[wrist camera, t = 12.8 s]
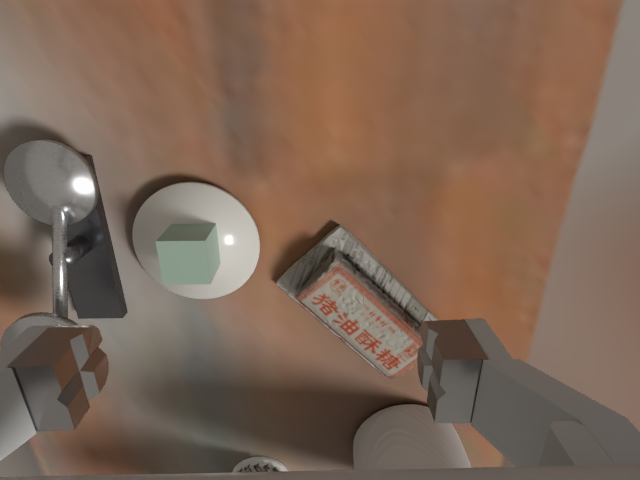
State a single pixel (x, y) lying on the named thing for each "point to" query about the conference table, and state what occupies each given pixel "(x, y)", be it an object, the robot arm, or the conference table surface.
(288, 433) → the conference table surface
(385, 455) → the vase
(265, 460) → the decorative candle
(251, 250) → the dish
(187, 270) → the block
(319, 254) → the packaged product
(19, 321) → the balance
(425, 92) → the conference table surface
